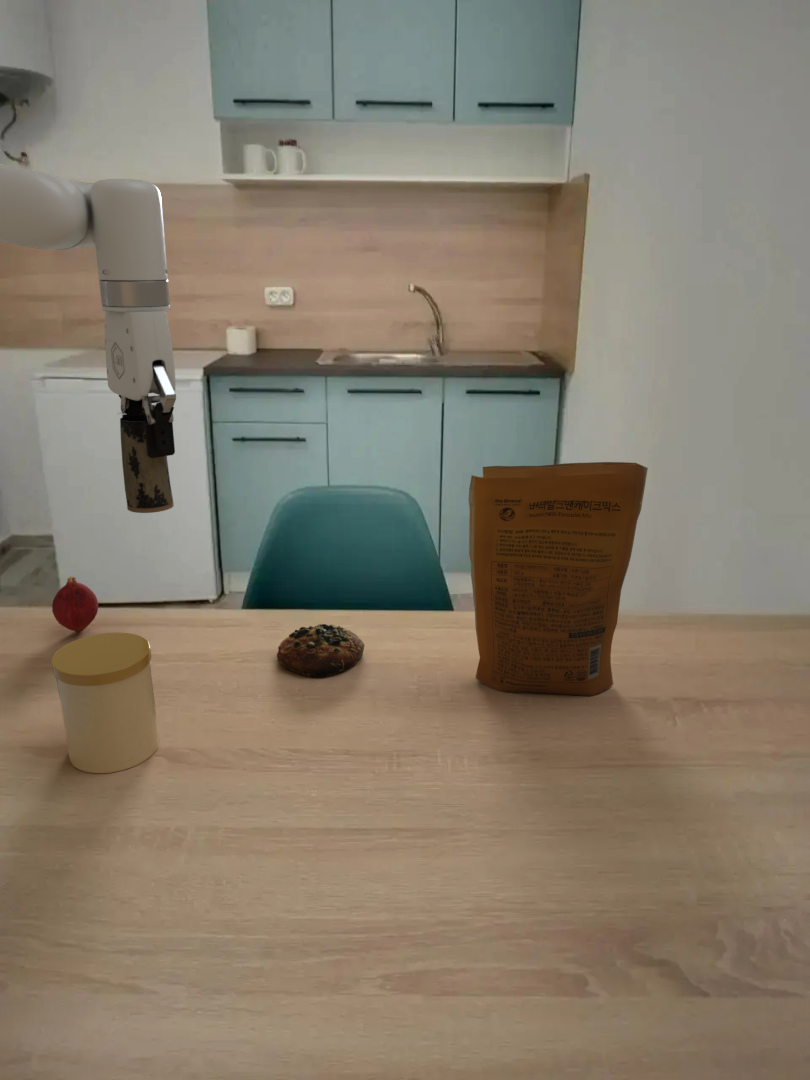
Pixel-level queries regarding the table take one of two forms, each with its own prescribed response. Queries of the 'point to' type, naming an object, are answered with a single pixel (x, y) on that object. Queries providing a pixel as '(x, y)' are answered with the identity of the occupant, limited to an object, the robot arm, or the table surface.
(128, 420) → the mug
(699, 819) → the table surface
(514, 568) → the pancake mix bag
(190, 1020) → the table surface
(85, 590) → the onion
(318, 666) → the bread roll
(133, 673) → the jar
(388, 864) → the table surface
